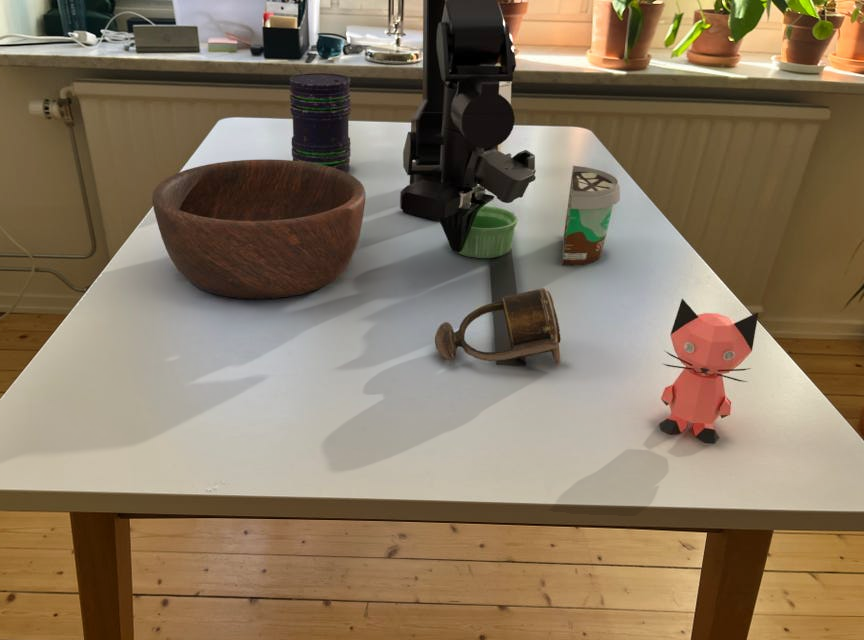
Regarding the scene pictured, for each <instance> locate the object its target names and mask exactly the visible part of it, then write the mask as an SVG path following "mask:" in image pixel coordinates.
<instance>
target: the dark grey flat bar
mask: <svg viewBox="0 0 864 640" xmlns="http://www.w3.org/2000/svg"><path fill="white" fill-rule="evenodd" d="M512 249H513V248H512V247H511V249H510V251H509V252H508V253H506V254H504V255H502V256H499V257H494V258H489V271H490V287H491V288H490V289H491V303H494V302H499V301H502V298H503V297H505V296H510V295H515V294H518V287H517V280H516V272H515V263H514V257H513V250H512ZM492 315H493V316H492V318H493V319H492V320H493V333H494V349H495V351H494V352H500V351H504V350H509V349H511V346H510V340H509V335H508V330H507V323H506V318H505V314H504V310H499V311H494V312H492ZM495 364H496V365H498V366H499V365H501V366H515V367H517V366H518V367H527V356H526V357H522V358H517V359H516V358H511V359H506V360H497V361H495Z"/></svg>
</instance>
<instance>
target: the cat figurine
mask: <svg viewBox="0 0 864 640" xmlns="http://www.w3.org/2000/svg"><path fill="white" fill-rule="evenodd" d="M759 313H760V311H758V312H756V313H754V314H751V315H749V316H747V317H745V318H743V319H740V320H739V321H735V320H734V319H732V318H731V317H729V316H727V315H723V314H720V313H718V312H717V313H716V312H714V313H713V312H703V313H699V314H697V313H696V312H695V311H694V310H693V309H692V308H691V306H690V305H689V304H688V303H687V302H686V301H685V300H684V298H681V300H680V303H679V306H678V310H677V313H676V316H675V319H674V322H673V325H672V328H671V332H670V334H669V335H670V340H671V343H672V346H673V350H674V352H675V354H676V355H674V354H673V353H670V352H668V351H666V350H664V353H667V355H669V356H671V357H672V358H675V359H677V360H679V361H680V363H681V364H682V365H683V366H678V365H672V364H666V363H662V365H663V366H666V367H671V368H677V369H682V370H681V372H680V373H679V375H678V376H677V378H676V379H675V380H674V382H673V383H672V384H671V385H668V386H666V387H664V390H663V391H662V394H661V397H660V400H661V401H662V402H663V404H664V405H665V406H666V407H667V406H669V409H670V412H671V414H669V416H667V418H666V419H664V420H662V421H661V422H659V423H658V425H659V428H660V431H661V432H663V433H666V434H668V435H676V434H682V432H683V431H684V430H685V429H686V428H687V426H688V423H691V424H693V425H692V429H693V433H694V437H696V438H697V439H698V440H700V441H702V442H703V443H706V444H716V443H717V441H719V439H720V436H719V434H718V432H717V431H716V429H715V426H714V423H715V421H716V420H718V418H719V417H720V418H721V419H723V418H726V417H729V416H731V409H732V401H731V400H730V399H729V398H728V397H727V395H726V390H725V384H724V378H725V379H729V380H734V381H737V382H741V383H742V382H743V383H748V381H747V380H742V379H738V378H735V377H731V376H727V375H724V374H729V373H731V372H739V371H740V372H741V371H747V370H751V369H752V367H751V368H750V367H749V368H737V367H739V366H740V365H741V364H742V363H743V362H744V361H745V359H746V358H748V357H749V355H750V354H751V353H752V352H753V347H754V343H755V342H754V341H755V335H756V331H757V330H756V329H757V324H758V318H759Z"/></svg>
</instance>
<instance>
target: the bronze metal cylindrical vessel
mask: <svg viewBox="0 0 864 640" xmlns="http://www.w3.org/2000/svg"><path fill="white" fill-rule="evenodd" d="M555 308H556V307H555V305H554V301H553V297H552V295H551V293H550V291H548V289H546V288H545V287H541V288H540V287H539V288H537V289H533V290H529V291H524V292H519V293H517V294H515V295H510V296H505V297H503V298H502V301H499V302H494V303H492V302H490V303H487V304H484V305H481V306H480V307H478V308H475V310H473V311H471V312H470V313H468V314H467V315H466V316H465V317H464V318H463V319H462V321H461V323H460V325H459V327H458V329H457V330H456V331H454V328H453V326H452V324H451V323H449V322H448V321H444V322H443V323H441V324H440V325H439V326H438V327H437V330H436V332H435V336H434V345H435V348H436V350H437V352H438V354H439V355H440V356H441V357H442V358H443V359H445V360H446V361H454V360H455V359H456V358H457V349H458V348H462V349H463V351H464V352H465V353H466V354H467V355H468V356H471V357H473V358H474V359H477V360H481V361H488V362H494V361H495V362H496V361H497V360H506V359H511V358H516V359H517V358H522V357H526V358H527V357H531V356H536V355H541V354H544V353H549V352H550V353H551V355H552V359H553V361H554V363H555V364H556V365H560V364H561V362H562V361H561V352H560V351H561V350H560V343H561V340H562V339H561V333H560V332H561V329H560V324H559V319H558V315H557V312H556V309H555ZM499 310H504V314H505V318H506V323H507V330H508V335H509V340H510V346H511V349H509V350H504V351H500V352H495V351H482V350H479V349H475V348H474V347H472V346H471V345H470V344H469V343H467V341H466V340H465V339H466V338H465V337H466V335H465V334H466V331H467V329H468V327H469V326H470V324H471V323H472V322H474V320H476V319H478V318H480V317H481V316H484V315H485V314H489V313H493V312H494V311H499Z"/></svg>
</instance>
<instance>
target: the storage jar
mask: <svg viewBox="0 0 864 640" xmlns="http://www.w3.org/2000/svg"><path fill="white" fill-rule="evenodd" d="M289 84H290V89H289V90H290V92H289V93H290V94H289V103H290V109H289V110H290V114H291V116H292V137H291V142H290V143H291V157H292V161H301V162H309V163H315V164H320V165H325V166H329V167H332V168H336V169H339V170H341V171H344V172H346V173H348V174H350V171H351V167H350V163H351V159H350V158H351V152H352V151H351V138H350V136H349V116H350V115H351V110H352V109H351V101H352V99H351V88H350V86H351V79H350V77H349V76H346V75H342V74H336V73H325V72H324V73H323V72H319V73H318V72H315V73H313V72H312V73H301V74H295V75H293V76H291V77H290V78H289Z"/></svg>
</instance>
